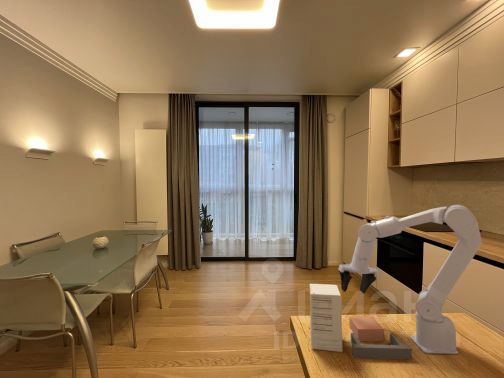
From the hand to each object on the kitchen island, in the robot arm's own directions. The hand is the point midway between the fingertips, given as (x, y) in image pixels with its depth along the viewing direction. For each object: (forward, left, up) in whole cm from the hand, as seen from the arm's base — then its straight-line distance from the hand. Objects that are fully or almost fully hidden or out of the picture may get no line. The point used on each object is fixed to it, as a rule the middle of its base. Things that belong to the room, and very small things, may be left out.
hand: (352, 290), depth 91 cm
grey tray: (-2, +15, -11) cm, 19 cm away
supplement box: (+13, +12, -12) cm, 21 cm away
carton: (-2, +7, -12) cm, 14 cm away
